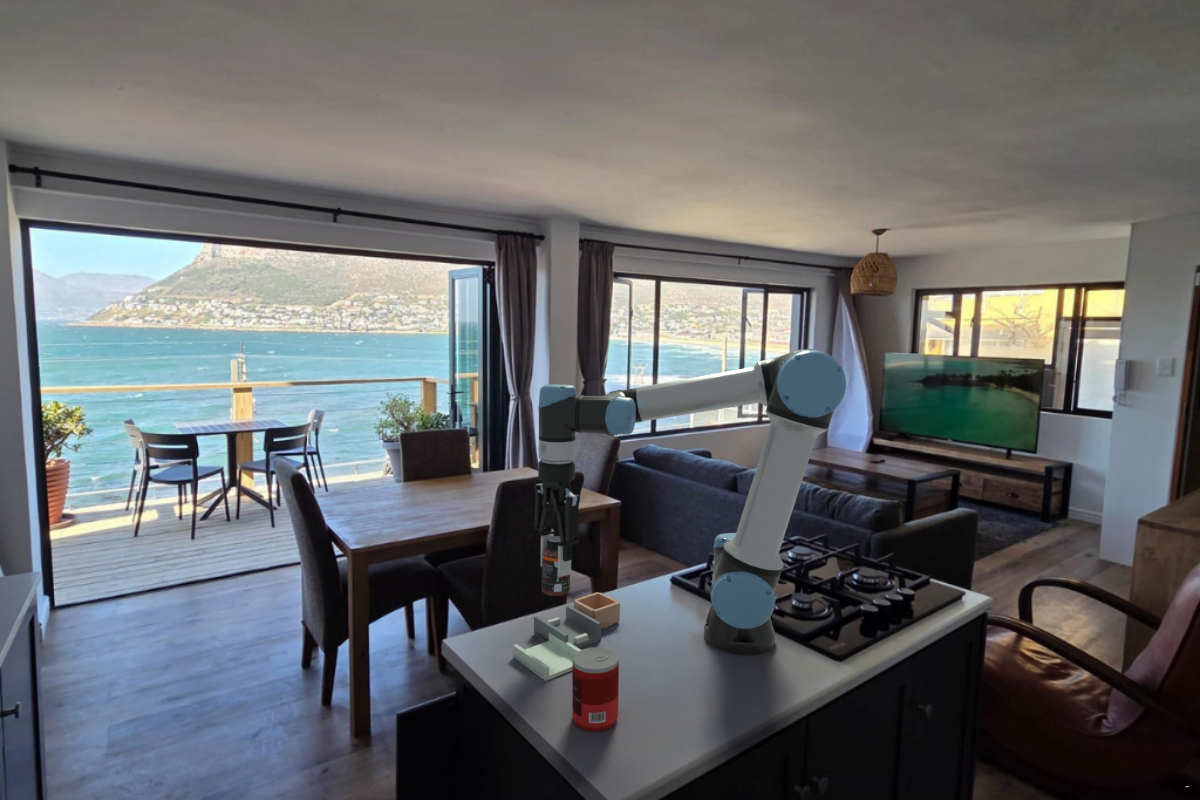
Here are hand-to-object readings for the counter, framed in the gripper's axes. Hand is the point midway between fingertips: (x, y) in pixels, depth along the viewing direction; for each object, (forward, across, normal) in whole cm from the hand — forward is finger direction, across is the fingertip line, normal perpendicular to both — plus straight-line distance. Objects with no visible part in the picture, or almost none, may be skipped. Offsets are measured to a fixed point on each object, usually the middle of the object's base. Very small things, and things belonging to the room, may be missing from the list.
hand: (555, 569), depth 131 cm
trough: (+17, +4, -4) cm, 18 cm away
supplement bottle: (+5, 0, 0) cm, 5 cm away
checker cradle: (+17, -3, +5) cm, 18 cm away
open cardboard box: (+17, -5, +15) cm, 23 cm away
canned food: (+17, +25, -8) cm, 31 cm away
